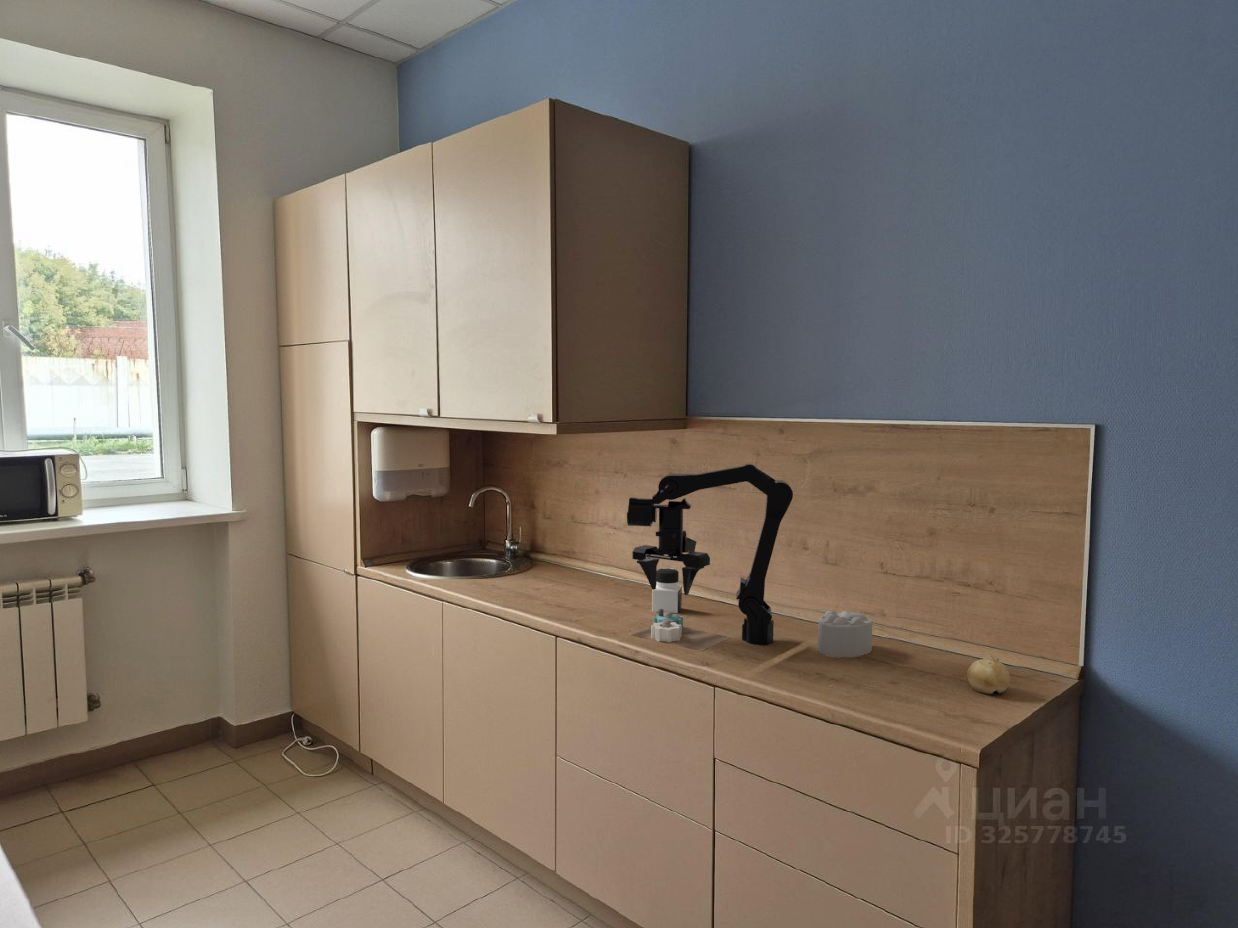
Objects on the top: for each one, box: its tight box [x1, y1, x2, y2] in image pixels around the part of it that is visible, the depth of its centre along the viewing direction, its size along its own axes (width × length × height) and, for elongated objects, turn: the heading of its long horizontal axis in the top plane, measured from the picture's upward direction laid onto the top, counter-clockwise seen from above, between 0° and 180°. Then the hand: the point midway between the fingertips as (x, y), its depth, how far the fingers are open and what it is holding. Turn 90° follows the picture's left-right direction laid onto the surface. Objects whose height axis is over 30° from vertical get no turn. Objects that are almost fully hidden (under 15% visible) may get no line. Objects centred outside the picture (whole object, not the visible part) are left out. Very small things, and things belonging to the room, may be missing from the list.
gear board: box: [630, 612, 732, 652], centre depth 204 cm, size 20×14×5 cm
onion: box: [966, 653, 1011, 695], centre depth 171 cm, size 8×8×7 cm
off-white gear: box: [650, 622, 682, 643], centre depth 203 cm, size 7×7×3 cm
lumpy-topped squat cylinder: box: [817, 610, 873, 658], centre depth 198 cm, size 10×13×9 cm
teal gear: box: [653, 609, 684, 629], centre depth 211 cm, size 7×7×5 cm
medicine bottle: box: [651, 567, 683, 614], centre depth 231 cm, size 7×7×12 cm
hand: (670, 591), depth 203 cm, fingers open, 9 cm apart
